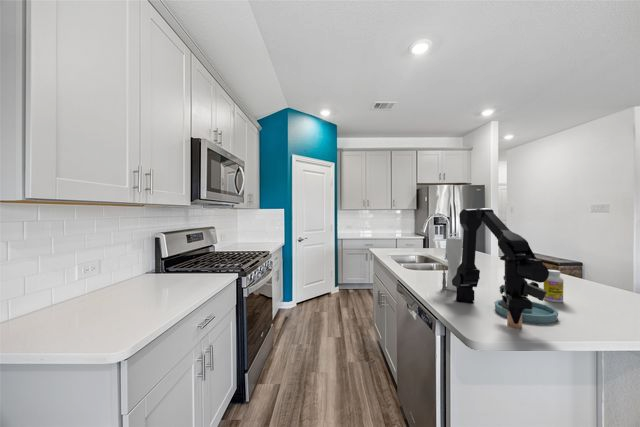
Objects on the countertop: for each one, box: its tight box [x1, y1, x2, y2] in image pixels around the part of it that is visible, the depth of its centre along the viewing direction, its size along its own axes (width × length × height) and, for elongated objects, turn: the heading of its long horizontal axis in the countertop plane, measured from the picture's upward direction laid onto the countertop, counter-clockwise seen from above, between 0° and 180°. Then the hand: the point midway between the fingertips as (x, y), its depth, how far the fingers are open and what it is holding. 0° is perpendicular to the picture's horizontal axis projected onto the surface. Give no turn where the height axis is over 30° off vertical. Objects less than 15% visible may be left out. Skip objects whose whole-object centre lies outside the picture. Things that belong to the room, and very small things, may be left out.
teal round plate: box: [494, 299, 559, 324], centre depth 110 cm, size 19×19×2 cm
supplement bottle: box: [543, 269, 564, 303], centre depth 125 cm, size 7×7×13 cm
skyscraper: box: [441, 232, 463, 293], centre depth 144 cm, size 8×8×28 cm
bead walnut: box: [501, 297, 507, 309], centre depth 112 cm, size 4×4×4 cm
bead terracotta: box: [506, 311, 523, 329], centre depth 99 cm, size 4×4×4 cm
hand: (514, 321), depth 99 cm, fingers closed on bead terracotta, 4 cm apart
